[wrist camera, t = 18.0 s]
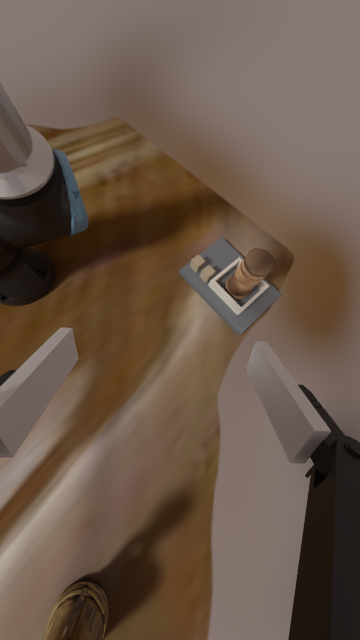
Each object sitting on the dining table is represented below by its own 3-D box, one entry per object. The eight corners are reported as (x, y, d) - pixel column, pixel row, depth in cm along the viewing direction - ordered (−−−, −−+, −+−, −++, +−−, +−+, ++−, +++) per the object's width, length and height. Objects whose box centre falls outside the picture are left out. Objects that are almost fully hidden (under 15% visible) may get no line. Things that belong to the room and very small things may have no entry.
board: (178, 272, 49) (180, 263, 45) (220, 241, 53) (225, 229, 49) (238, 335, 46) (246, 331, 41) (278, 296, 50) (289, 289, 45)
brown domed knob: (218, 286, 47) (237, 258, 36) (236, 271, 49) (258, 240, 37) (237, 305, 46) (262, 282, 35) (254, 289, 48) (283, 263, 36)
